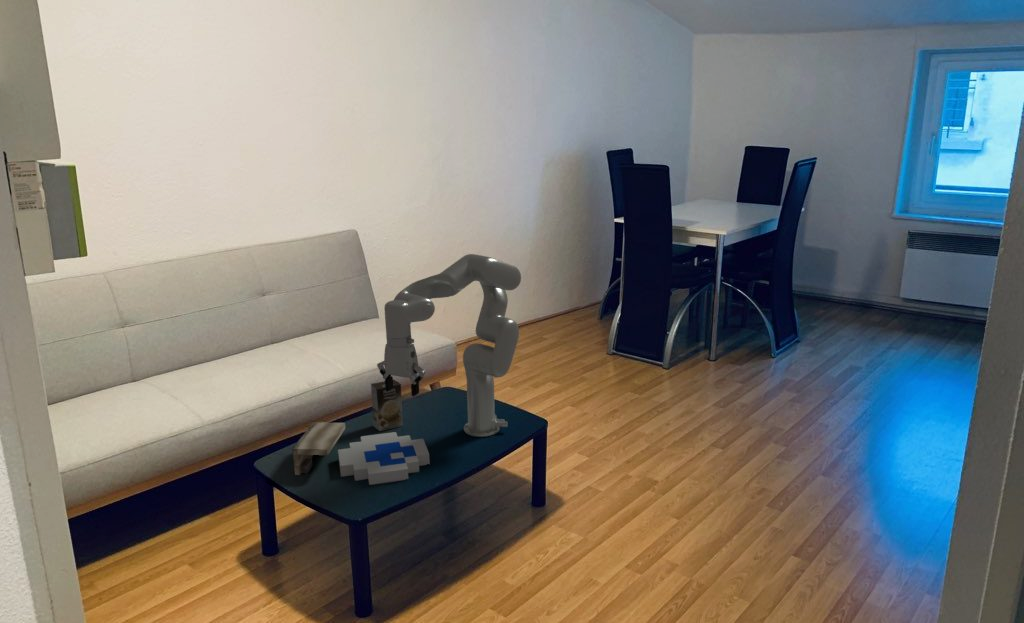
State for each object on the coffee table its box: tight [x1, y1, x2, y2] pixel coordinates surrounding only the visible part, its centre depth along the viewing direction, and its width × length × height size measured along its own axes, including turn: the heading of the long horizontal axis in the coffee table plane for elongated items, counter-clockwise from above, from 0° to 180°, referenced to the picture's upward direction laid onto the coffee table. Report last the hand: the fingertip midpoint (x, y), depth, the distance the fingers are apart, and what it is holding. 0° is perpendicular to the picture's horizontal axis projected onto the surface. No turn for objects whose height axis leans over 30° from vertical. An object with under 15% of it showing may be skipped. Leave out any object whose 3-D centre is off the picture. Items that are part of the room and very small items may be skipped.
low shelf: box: [292, 421, 346, 476], centre depth 255 cm, size 11×20×9 cm, turn 176°
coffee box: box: [370, 379, 404, 432], centre depth 280 cm, size 9×6×16 cm
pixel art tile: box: [337, 431, 431, 486], centre depth 254 cm, size 28×4×28 cm
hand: (402, 392), depth 246 cm, fingers open, 9 cm apart
